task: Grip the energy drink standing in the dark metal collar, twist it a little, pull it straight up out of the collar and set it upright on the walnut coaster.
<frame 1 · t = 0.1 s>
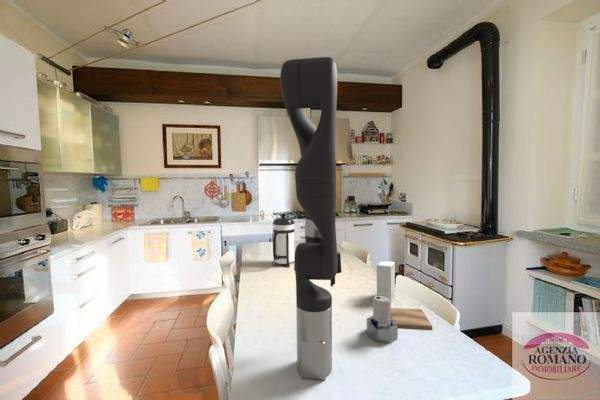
hand: (317, 284, 85), 17 cm above the table, tool pointing down, fingers open, 8 cm apart
coffee press: (283, 264, 163), on the table
skincare box: (385, 298, 116), on the table
energy drink: (381, 335, 89), resting in metal collar
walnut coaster: (408, 319, 98), on the table
metal collar: (381, 334, 89), on the table
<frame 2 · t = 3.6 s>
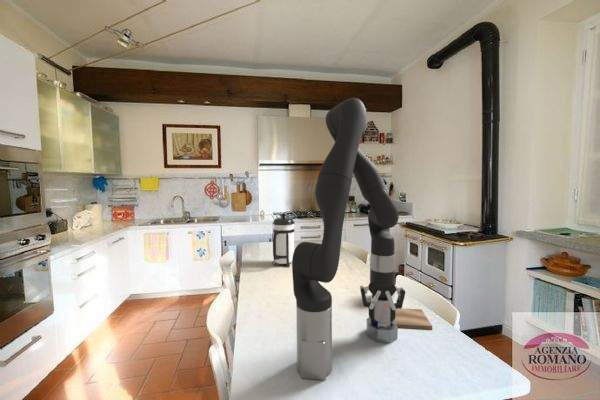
hand: (381, 319, 88), 5 cm above the table, tool pointing down, fingers closed on energy drink, 5 cm apart
energy drink: (381, 335, 89), resting in metal collar, touching gripper
everything else where it was.
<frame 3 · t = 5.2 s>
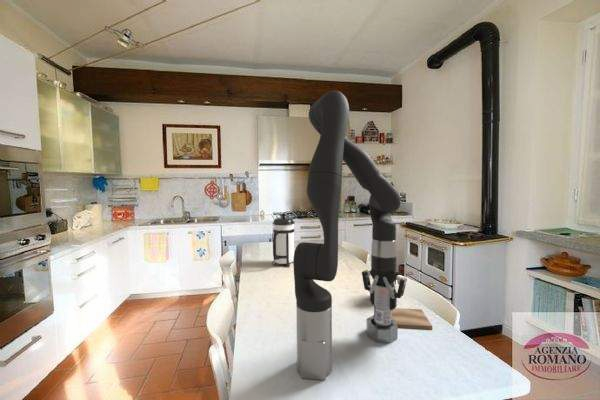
hand: (383, 306, 87), 10 cm above the table, tool pointing down, fingers closed on energy drink, 5 cm apart
energy drink: (382, 322, 88), point 4 cm above the table, touching gripper
everything else where it was.
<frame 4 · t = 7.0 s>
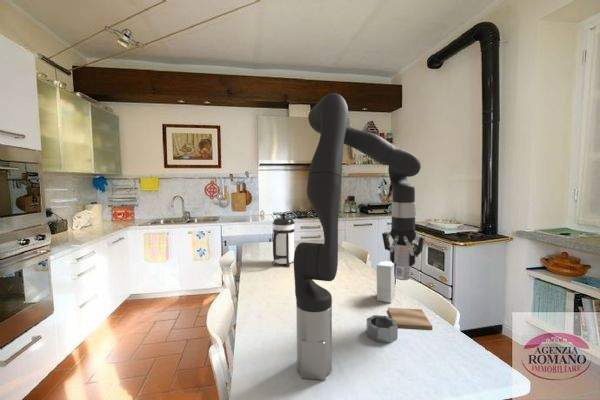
hand: (402, 263, 95), 20 cm above the table, tool pointing down, fingers closed on energy drink, 5 cm apart
energy drink: (402, 278, 96), point 15 cm above the table, touching gripper
everything else where it was.
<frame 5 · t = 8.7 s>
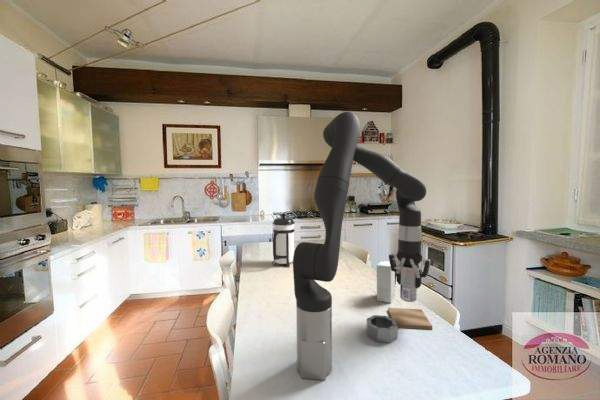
hand: (408, 285, 97), 12 cm above the table, tool pointing down, fingers closed on energy drink, 5 cm apart
energy drink: (408, 299, 98), point 7 cm above the table, touching gripper
everything else where it was.
when the fingers open (7 cm above the table, at t = 10.5 s): energy drink drops 1 cm, resting on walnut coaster.
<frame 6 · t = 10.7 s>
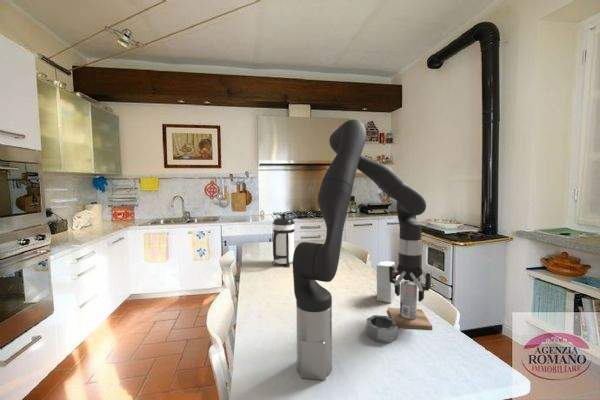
hand: (409, 297, 98), 8 cm above the table, tool pointing down, fingers open, 7 cm apart
energy drink: (408, 316, 98), point 1 cm above the table, touching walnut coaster
everything else where it was.
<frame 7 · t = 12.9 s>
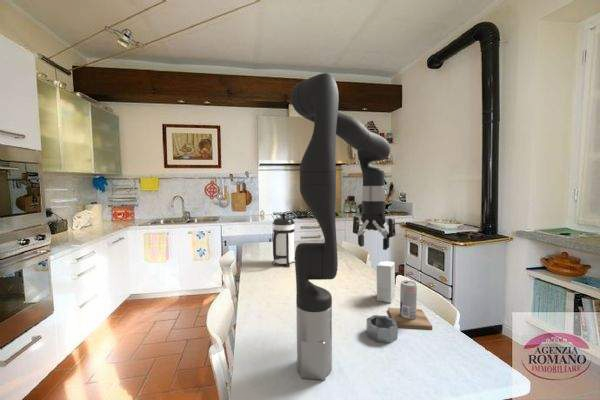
hand: (373, 247, 94), 26 cm above the table, tool pointing down, fingers open, 8 cm apart
nothing on the table moved.
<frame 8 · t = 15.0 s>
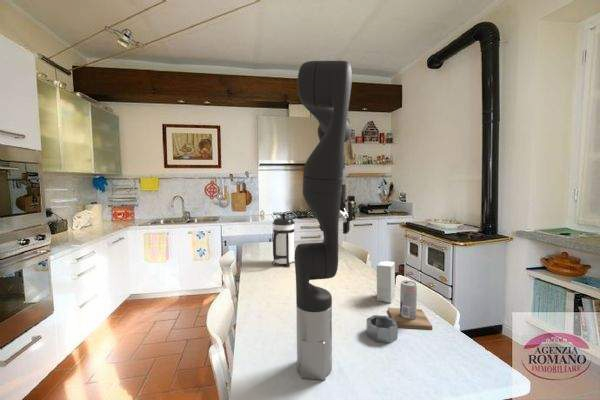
hand: (334, 232, 92), 32 cm above the table, tool pointing down, fingers open, 8 cm apart
nothing on the table moved.
at the end: energy drink 0.2 cm from the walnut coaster (horizontally); energy drink point 0.8 cm above the table; energy drink tilted 0° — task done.
